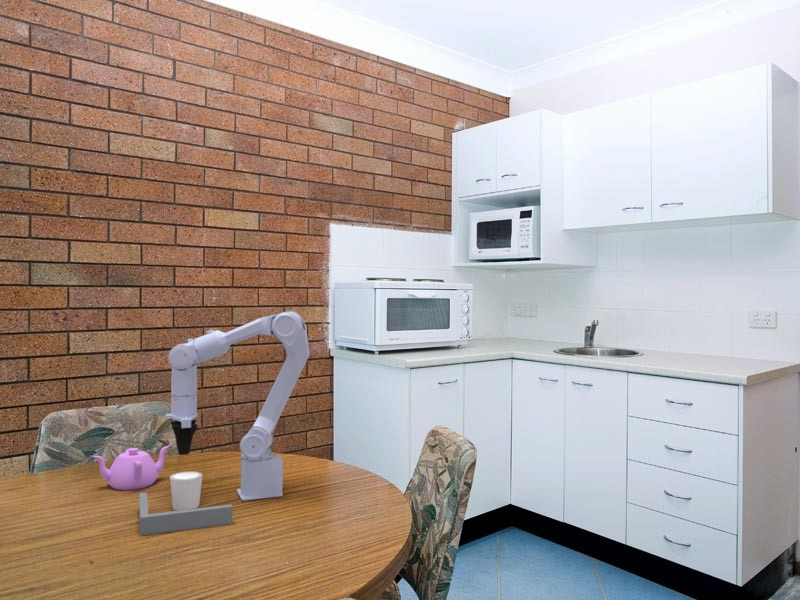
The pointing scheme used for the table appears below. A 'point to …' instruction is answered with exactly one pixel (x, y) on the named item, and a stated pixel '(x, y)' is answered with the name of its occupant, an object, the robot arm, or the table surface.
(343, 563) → the table surface
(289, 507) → the table surface
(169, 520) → the l-shaped bracket
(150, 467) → the teapot
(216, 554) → the table surface
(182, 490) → the shot glass
